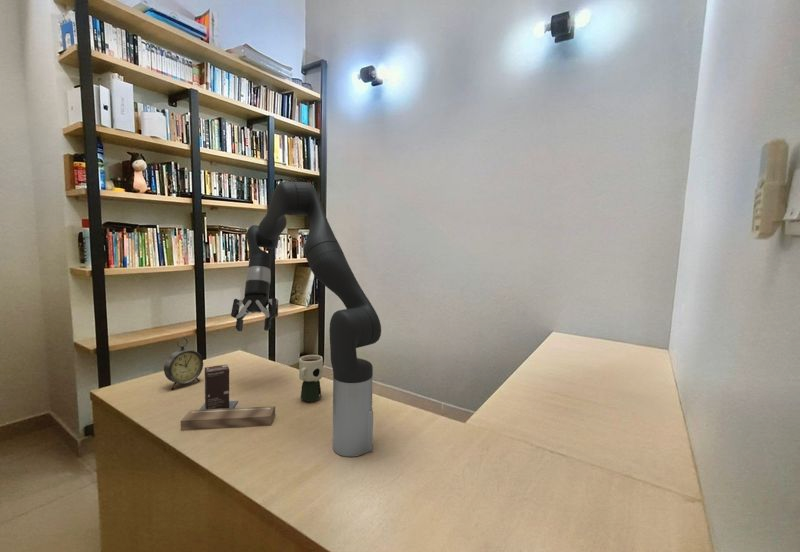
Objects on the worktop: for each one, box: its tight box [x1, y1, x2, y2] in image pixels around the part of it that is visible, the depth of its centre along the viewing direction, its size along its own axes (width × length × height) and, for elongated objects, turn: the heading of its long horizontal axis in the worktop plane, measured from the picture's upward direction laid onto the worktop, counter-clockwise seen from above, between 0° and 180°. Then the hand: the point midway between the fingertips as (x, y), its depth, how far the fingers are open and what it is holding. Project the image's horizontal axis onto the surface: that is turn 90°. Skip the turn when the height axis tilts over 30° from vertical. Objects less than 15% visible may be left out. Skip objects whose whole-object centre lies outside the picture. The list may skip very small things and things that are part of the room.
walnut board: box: [180, 405, 276, 431], centre depth 96 cm, size 22×6×3 cm, turn 99°
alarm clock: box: [163, 336, 204, 390], centre depth 119 cm, size 11×5×16 cm, turn 148°
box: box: [204, 364, 230, 409], centre depth 102 cm, size 6×4×12 cm
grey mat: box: [198, 400, 239, 410], centre depth 103 cm, size 9×9×1 cm
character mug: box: [298, 354, 324, 402], centre depth 111 cm, size 11×7×13 cm, turn 163°
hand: (252, 330), depth 114 cm, fingers open, 8 cm apart
